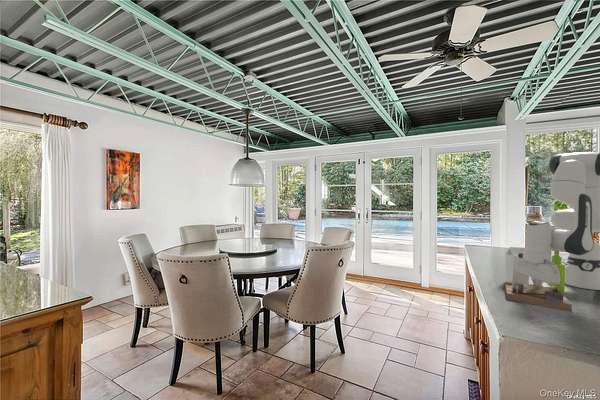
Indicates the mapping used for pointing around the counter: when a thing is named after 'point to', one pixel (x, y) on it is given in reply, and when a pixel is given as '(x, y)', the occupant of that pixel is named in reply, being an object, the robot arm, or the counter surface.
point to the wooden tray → (539, 298)
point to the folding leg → (533, 288)
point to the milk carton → (514, 267)
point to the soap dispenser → (561, 267)
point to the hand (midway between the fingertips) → (537, 288)
